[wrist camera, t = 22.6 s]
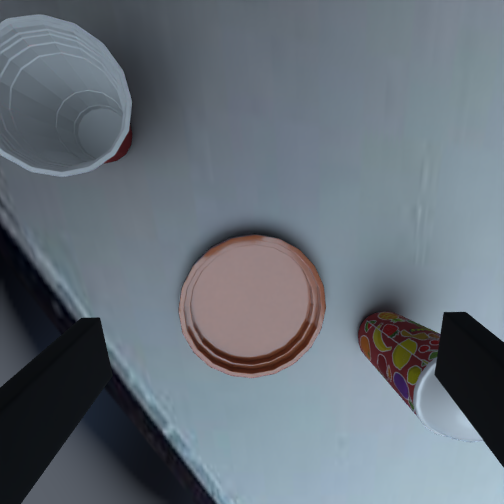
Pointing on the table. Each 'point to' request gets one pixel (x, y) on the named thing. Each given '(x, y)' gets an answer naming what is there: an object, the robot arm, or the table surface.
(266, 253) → the plate
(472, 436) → the smoothie
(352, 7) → the table surface
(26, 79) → the plastic cup
